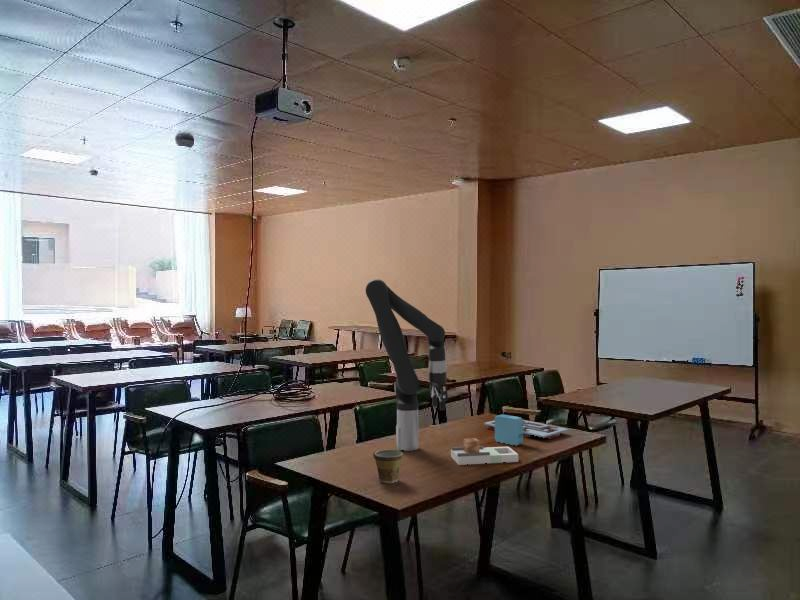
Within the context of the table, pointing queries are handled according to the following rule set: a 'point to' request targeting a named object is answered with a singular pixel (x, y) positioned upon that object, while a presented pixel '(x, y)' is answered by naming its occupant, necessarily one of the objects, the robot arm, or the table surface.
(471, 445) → the terracotta cube
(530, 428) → the maze game
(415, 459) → the table surface
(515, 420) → the blue square slab
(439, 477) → the table surface
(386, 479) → the ceramic cup
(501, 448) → the tray
